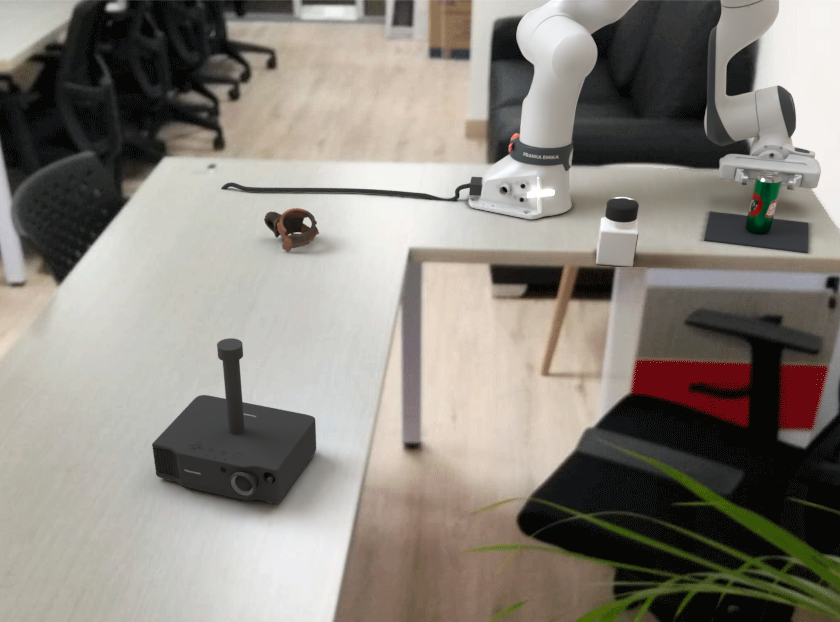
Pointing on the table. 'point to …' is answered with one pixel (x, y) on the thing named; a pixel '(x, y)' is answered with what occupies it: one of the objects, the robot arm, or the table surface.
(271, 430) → the projector
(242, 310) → the table surface
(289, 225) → the brown curved piece
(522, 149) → the robot arm
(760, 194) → the soda can
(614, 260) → the medicine bottle
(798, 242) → the desk pad
